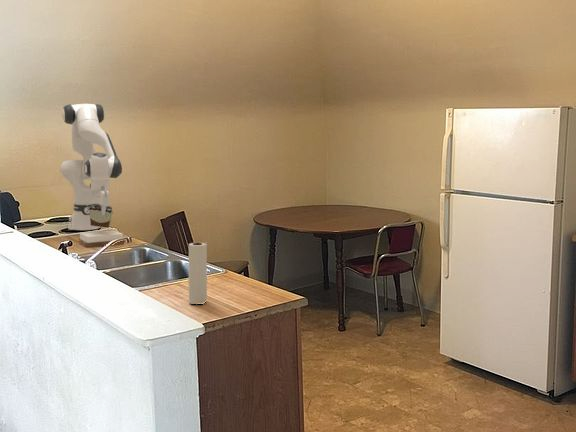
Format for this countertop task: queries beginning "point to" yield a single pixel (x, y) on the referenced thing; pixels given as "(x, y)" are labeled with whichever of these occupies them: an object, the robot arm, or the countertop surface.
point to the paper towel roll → (197, 273)
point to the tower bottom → (98, 243)
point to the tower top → (100, 236)
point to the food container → (100, 216)
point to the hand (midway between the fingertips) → (100, 213)
